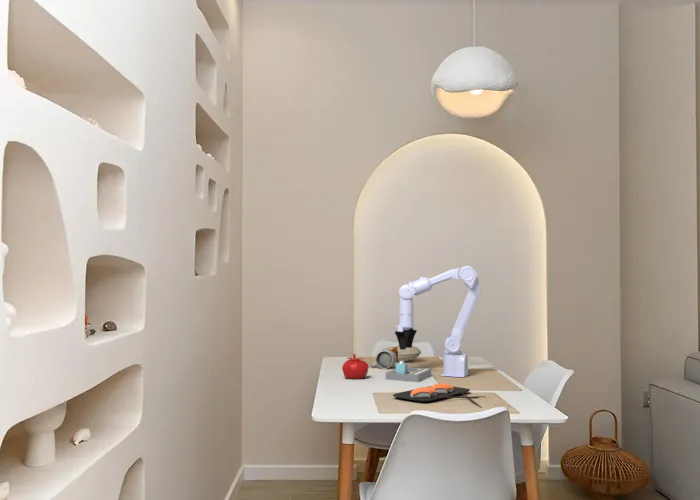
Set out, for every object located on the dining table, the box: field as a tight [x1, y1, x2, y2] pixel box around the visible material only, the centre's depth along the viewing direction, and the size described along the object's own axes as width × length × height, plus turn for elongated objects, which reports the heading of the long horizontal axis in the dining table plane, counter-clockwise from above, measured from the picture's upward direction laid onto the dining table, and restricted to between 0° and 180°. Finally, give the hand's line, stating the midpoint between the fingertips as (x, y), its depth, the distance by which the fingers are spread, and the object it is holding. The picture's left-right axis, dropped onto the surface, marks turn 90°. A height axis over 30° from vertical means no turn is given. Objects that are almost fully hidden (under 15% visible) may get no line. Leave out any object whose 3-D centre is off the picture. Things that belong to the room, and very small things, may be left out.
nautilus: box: [382, 344, 422, 363], centre depth 332 cm, size 8×22×15 cm
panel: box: [385, 367, 432, 383], centre depth 285 cm, size 13×17×3 cm
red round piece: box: [341, 353, 369, 380], centre depth 282 cm, size 10×10×9 cm
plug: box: [395, 361, 409, 374], centre depth 281 cm, size 4×4×7 cm
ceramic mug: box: [370, 349, 397, 370], centre depth 311 cm, size 11×8×8 cm
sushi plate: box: [392, 382, 486, 409], centre depth 240 cm, size 29×30×4 cm
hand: (405, 348), depth 294 cm, fingers open, 7 cm apart
